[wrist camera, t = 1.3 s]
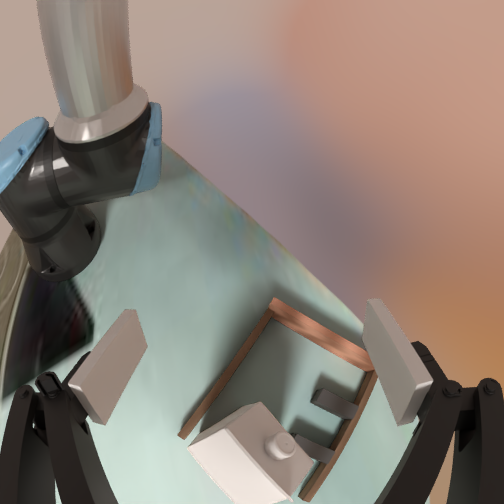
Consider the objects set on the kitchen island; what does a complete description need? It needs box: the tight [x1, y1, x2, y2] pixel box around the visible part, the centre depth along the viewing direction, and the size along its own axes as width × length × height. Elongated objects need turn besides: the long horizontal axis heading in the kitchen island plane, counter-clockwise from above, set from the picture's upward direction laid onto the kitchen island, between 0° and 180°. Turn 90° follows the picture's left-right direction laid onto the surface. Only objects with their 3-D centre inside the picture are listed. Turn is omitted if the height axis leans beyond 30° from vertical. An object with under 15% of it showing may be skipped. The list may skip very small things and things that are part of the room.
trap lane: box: [178, 297, 378, 502], centre depth 30 cm, size 19×22×4 cm
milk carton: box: [187, 402, 314, 504], centre depth 21 cm, size 7×7×19 cm
